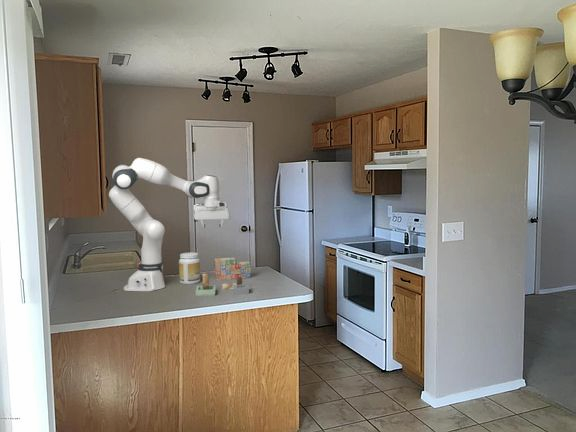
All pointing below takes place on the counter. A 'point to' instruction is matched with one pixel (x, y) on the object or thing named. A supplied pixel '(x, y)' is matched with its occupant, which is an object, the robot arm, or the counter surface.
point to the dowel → (205, 281)
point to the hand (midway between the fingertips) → (212, 227)
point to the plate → (228, 286)
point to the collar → (241, 289)
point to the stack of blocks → (231, 268)
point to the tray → (206, 291)
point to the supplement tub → (189, 268)
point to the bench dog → (239, 280)
